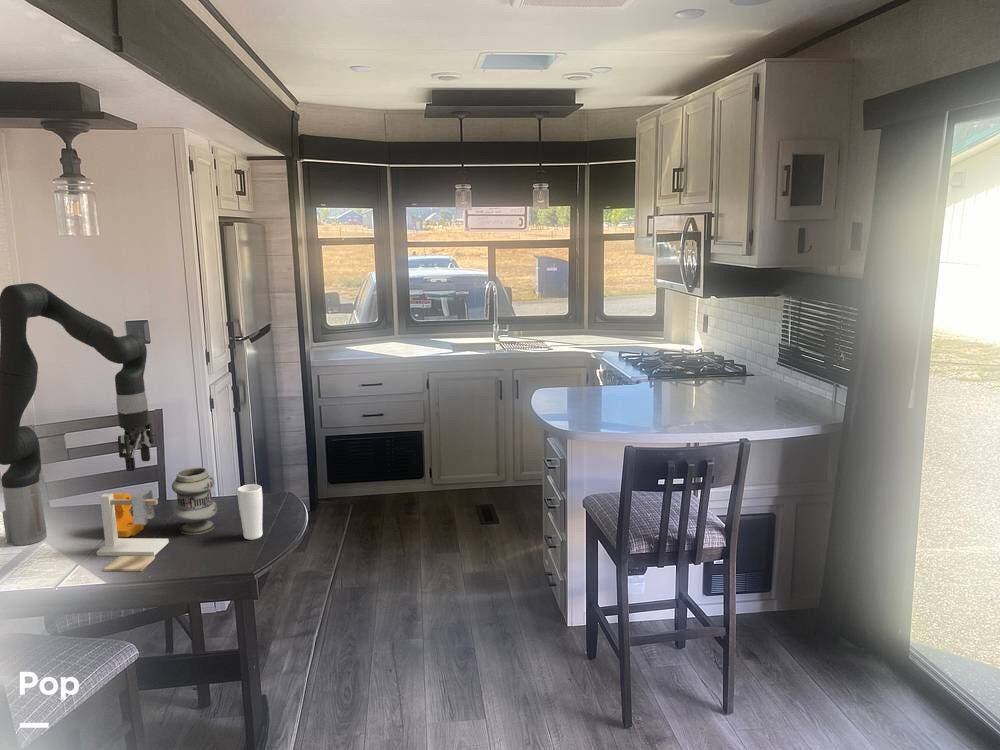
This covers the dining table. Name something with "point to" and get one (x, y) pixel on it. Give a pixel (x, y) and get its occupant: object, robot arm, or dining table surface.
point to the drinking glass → (251, 510)
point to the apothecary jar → (194, 500)
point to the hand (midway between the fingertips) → (138, 465)
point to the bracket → (125, 518)
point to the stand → (124, 545)
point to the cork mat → (129, 563)
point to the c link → (142, 507)
